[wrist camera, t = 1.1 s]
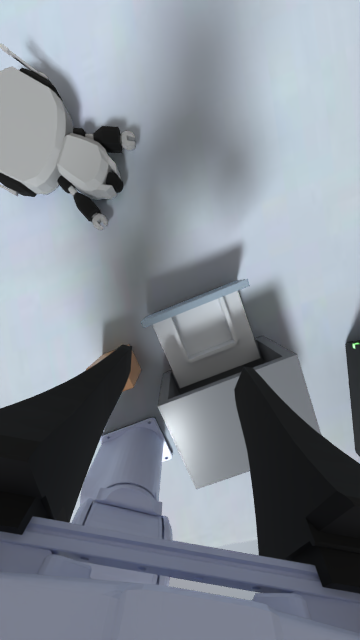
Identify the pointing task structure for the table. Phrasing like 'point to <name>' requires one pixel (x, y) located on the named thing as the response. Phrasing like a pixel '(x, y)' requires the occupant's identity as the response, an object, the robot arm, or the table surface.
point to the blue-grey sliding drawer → (205, 334)
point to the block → (133, 374)
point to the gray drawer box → (227, 413)
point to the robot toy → (54, 144)
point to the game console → (354, 387)
